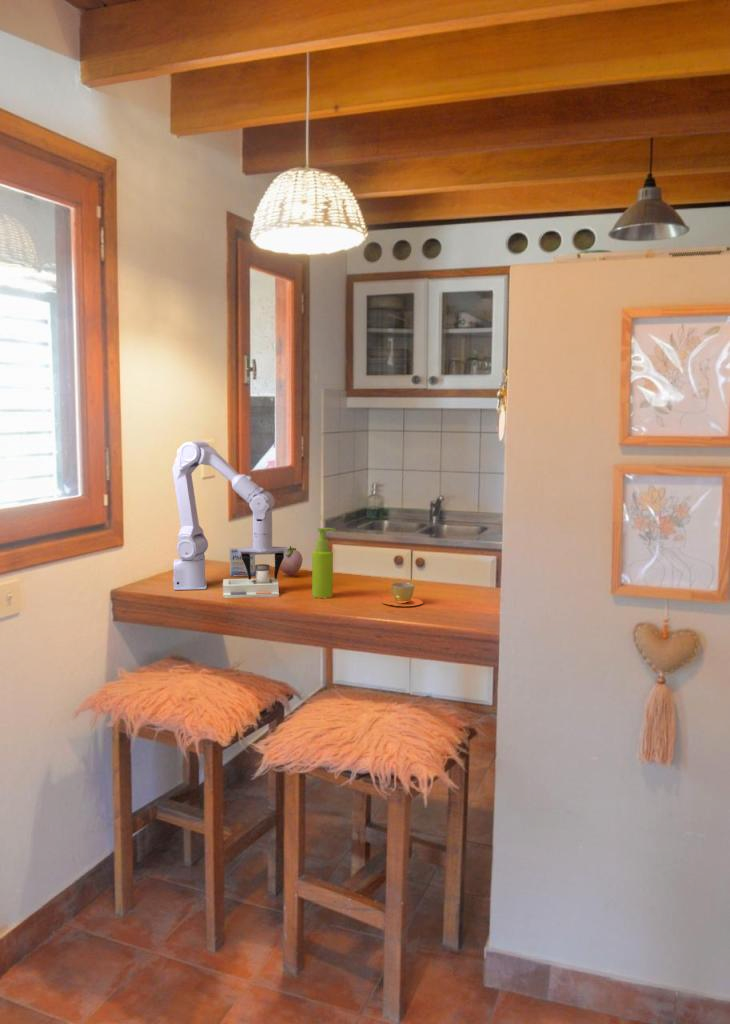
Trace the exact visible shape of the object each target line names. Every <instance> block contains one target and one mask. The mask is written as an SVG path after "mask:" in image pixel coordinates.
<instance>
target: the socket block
mask: <svg viewBox="0 0 730 1024" xmlns="http://www.w3.org/2000/svg"><path fill="white" fill-rule="evenodd" d="M279 588H280V587H279V582H278V578H277V579H275V578H274V577H269V583H266V584H256V577H255V578H252V577H251V579H248V578H223V580H222V599H239V598H241V599H242V598H270V597H271V598H272V597H273V598H274V597H277V598H278V597H280V593H279V591H280V590H279Z"/></svg>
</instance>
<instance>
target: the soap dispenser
mask: <svg viewBox="0 0 730 1024" xmlns="http://www.w3.org/2000/svg"><path fill="white" fill-rule="evenodd" d="M316 531H317V532H318V533H319V538H317V539H316V550H313V551H312V552H311V553H312V554H311V556H312V558H311V561H312V564H311V565H312V567H311V568H312V569H311V570H312V572H311V573H312V575H311V576H312V577H311V584H312V585H311V587H312V588H311V589H312V590H311V592H312V593H311V597H312V596H314V597H319V598H318V599H320V598H324V597H330V596H332V597H333V581H334V580H333V579H334V578H333V570H334V569H333V566H334V565H333V561H334V560H333V559H334V556H333V553H334V552H333V551H332V550H329V539H327V537H326V532H337V529H336V528H333V527H332V528H331V527H321V528H317V530H316ZM314 597H313V598H314ZM324 599H325V598H324Z"/></svg>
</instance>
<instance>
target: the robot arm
mask: <svg viewBox="0 0 730 1024" xmlns="http://www.w3.org/2000/svg"><path fill="white" fill-rule="evenodd" d="M200 465H202V466H203V465H204V466H210V467H212V468H213V469H214V470H215V471H216V472H218V473H219V474H221V476H223V477H224V478H225V479H226V480H228V481H230V483H231V489H232V490H233V491H234V492H235V493H237V494H238V496H239V497H241V498H242V499H243V500H244V501H245V502H246V503H248V506H249V508H250V510H251V511H252V546H247V547H237V548H238V555H241V556H242V560H243V562H244V564H245V566H246V569H247V573H248V576H247V579H251V578H252V576H251V572H250V555H255V556H256V555H274V572H273V573H274V577H273V578H275V579H277V580H278V574H279V571H280V569H279V567H280V565H281V563H282V560H283V558H284V554H287V549H288V547H287V546H273V508H274V506H275V502H276V501H275V497H274V496H273V494H272V493H271V492H269V491H267V490H266V491H264V490H265V488H263V487H260V486H259V485H258V484H257V483H256V482H254V481H253V477H252V476H251V475H247V474H244V473H242V474H240V473H239V472H238V471H237V470H236V469H234V467H232V465H230V463H229V462H227V460H226V459H224V458H223V457H222V456H221V455H220V454H219V453H218V450H216V449H215V448H214V447H213V446H211V445H209V443H208V442H206V441H204V440H198V441H187V442H184V443H183V444H182V445H181V446H180V447H179V448H178V449H177V450H176V456H175V460H174V462H173V465H172V477H173V485H174V489H175V490H174V491H175V497H176V504H177V509H178V517H179V524H180V529H179V532H178V534H177V540H178V541H177V545H176V552H177V554H178V556H179V557H180V558H173V577H172V583H173V590H174V591H184V590H185V591H187V590H188V591H190V590H207V585H208V582H207V581H206V555H205V553H206V552H207V551H208V550H207V549H208V547H209V543H208V539H207V538H206V536H205V534H204V530H203V528H202V527H201V526H200V522H199V517H198V511H197V510H198V509H197V502H196V496H195V490H194V483H193V482H194V481H193V476H192V473H193V472H194V471H195V470H196V469H197V468H198V466H200Z"/></svg>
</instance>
